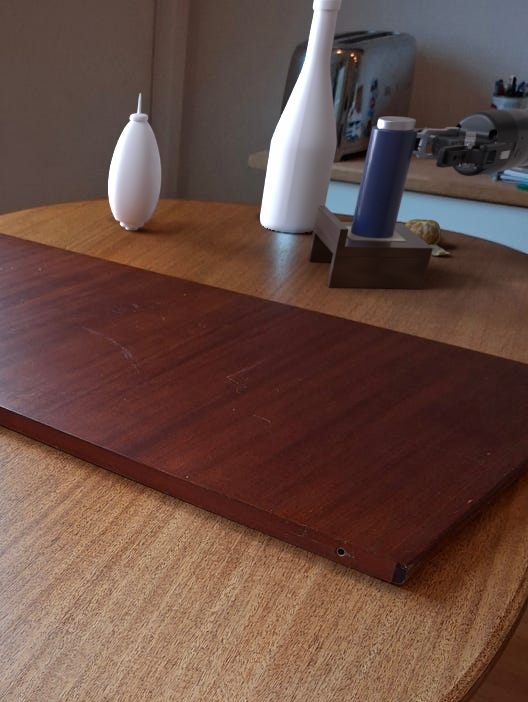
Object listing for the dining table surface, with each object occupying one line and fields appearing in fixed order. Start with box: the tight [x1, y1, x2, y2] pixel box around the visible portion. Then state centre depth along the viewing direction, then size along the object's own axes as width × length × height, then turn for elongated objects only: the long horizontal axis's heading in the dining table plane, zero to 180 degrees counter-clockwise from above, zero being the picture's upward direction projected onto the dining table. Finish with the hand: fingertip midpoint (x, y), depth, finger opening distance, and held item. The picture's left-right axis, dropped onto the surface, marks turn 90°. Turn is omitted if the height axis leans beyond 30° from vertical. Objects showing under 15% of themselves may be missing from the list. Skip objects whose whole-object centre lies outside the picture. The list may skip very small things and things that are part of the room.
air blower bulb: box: [107, 92, 162, 231], centre depth 130 cm, size 8×8×18 cm
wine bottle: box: [259, 0, 343, 234], centre depth 128 cm, size 10×10×30 cm
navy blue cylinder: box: [351, 115, 418, 238], centre depth 111 cm, size 5×5×13 cm
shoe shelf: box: [307, 205, 433, 290], centre depth 116 cm, size 12×13×7 cm
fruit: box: [404, 218, 451, 256], centre depth 127 cm, size 8×8×4 cm
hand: (412, 152), depth 111 cm, fingers open, 8 cm apart
